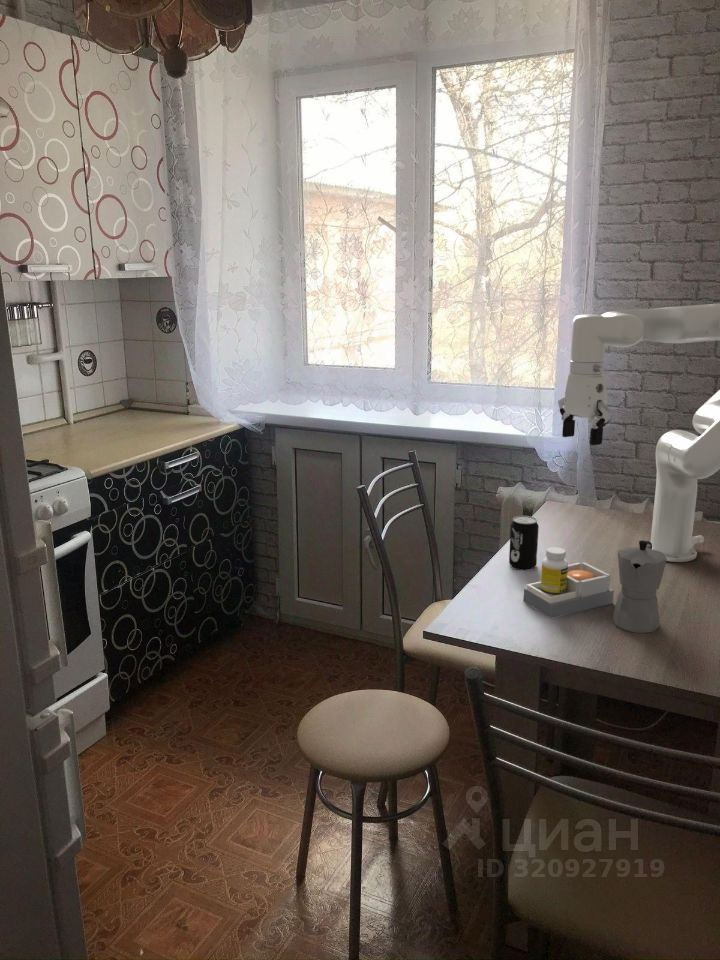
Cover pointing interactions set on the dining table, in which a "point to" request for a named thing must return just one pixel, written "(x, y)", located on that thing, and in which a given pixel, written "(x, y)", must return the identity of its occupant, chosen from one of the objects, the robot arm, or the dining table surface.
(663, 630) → the dining table surface
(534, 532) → the beverage can
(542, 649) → the dining table surface
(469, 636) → the dining table surface
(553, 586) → the supplement bottle
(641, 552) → the coffeepot
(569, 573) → the orange rounded capsule
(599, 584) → the grey divided storage tray
